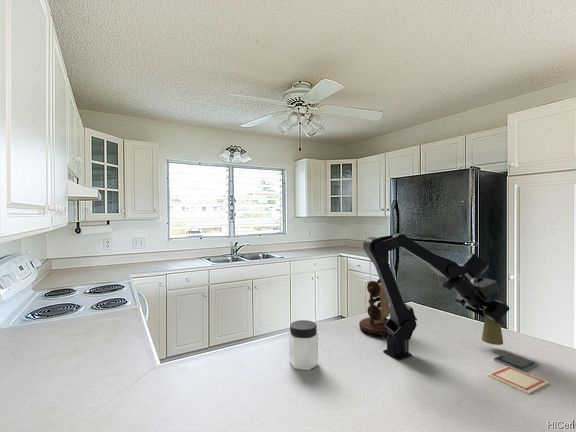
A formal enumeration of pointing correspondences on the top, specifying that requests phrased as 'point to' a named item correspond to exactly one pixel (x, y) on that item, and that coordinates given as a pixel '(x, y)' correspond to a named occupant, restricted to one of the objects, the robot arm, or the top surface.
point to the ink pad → (515, 361)
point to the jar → (303, 344)
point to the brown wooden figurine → (376, 310)
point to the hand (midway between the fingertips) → (496, 321)
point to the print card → (518, 379)
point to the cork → (492, 332)
